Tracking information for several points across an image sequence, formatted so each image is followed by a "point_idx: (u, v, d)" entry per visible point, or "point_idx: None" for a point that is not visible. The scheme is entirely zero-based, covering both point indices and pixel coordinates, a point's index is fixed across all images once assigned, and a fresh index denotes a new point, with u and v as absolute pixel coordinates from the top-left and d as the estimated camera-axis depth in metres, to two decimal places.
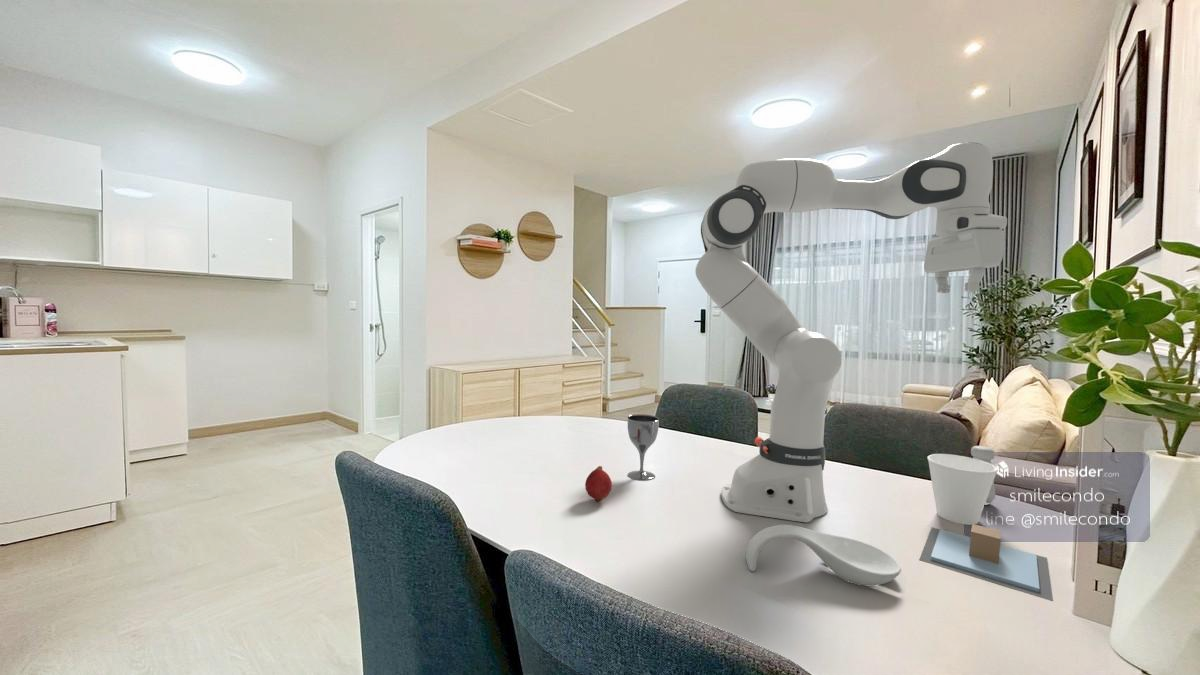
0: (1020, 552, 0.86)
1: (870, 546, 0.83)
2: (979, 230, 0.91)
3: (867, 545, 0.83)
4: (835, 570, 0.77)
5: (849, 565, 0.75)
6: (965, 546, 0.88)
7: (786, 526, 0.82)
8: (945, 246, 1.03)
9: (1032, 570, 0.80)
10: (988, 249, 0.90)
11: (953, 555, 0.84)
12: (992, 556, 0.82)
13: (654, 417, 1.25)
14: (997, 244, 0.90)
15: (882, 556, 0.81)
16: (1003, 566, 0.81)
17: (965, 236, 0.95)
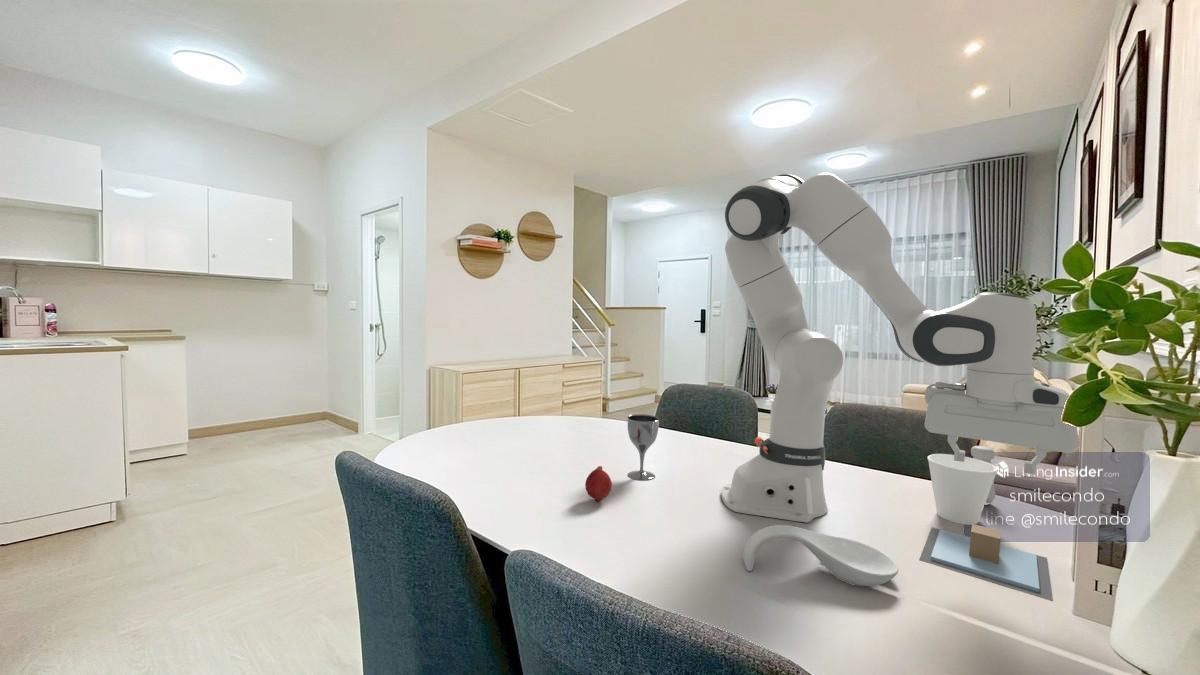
0: (1020, 552, 0.86)
1: (868, 547, 0.83)
2: None
3: (865, 546, 0.83)
4: (832, 570, 0.77)
5: (846, 565, 0.74)
6: (965, 546, 0.88)
7: (783, 526, 0.82)
8: (978, 409, 0.83)
9: (1032, 570, 0.80)
10: None
11: (953, 555, 0.84)
12: (992, 556, 0.82)
13: (654, 417, 1.25)
14: None
15: (880, 557, 0.81)
16: (1003, 566, 0.81)
17: (1040, 412, 0.77)
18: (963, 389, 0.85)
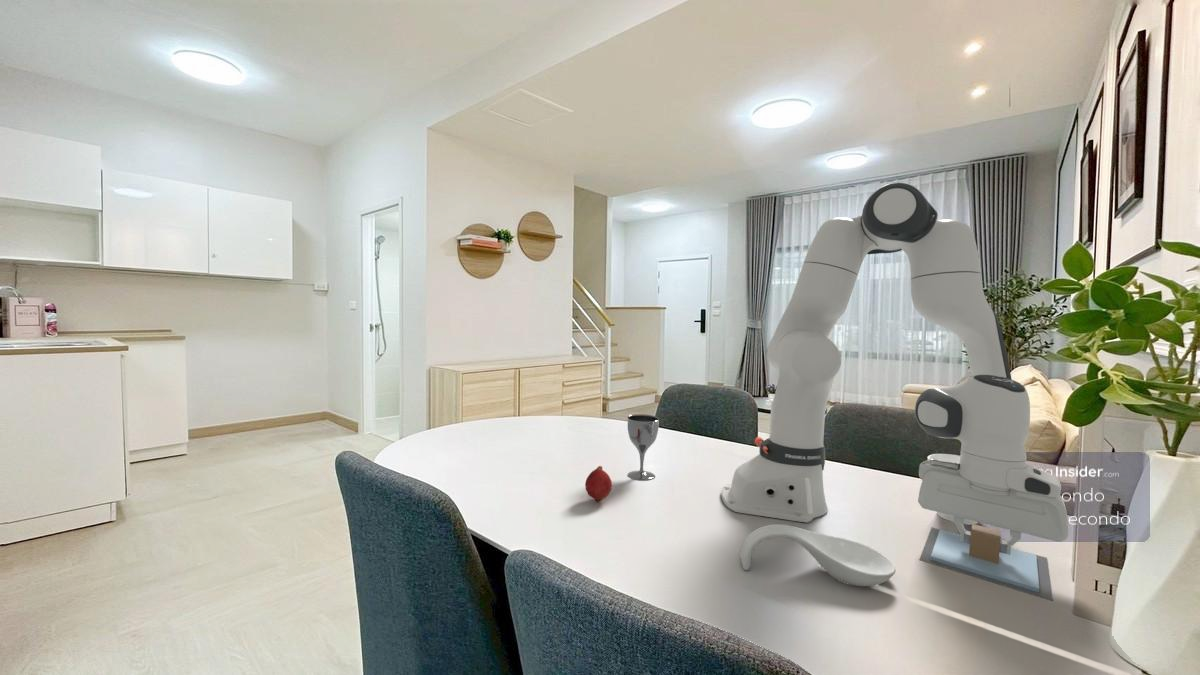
0: (1020, 552, 0.86)
1: (866, 547, 0.83)
2: (1060, 500, 0.77)
3: (863, 546, 0.83)
4: (829, 570, 0.77)
5: (842, 565, 0.75)
6: (965, 546, 0.88)
7: (780, 526, 0.82)
8: (971, 491, 0.84)
9: (1032, 570, 0.80)
10: None
11: (953, 555, 0.84)
12: (992, 556, 0.82)
13: (654, 417, 1.25)
14: None
15: (877, 558, 0.80)
16: (1003, 566, 0.81)
17: (1032, 500, 0.78)
18: (957, 469, 0.86)
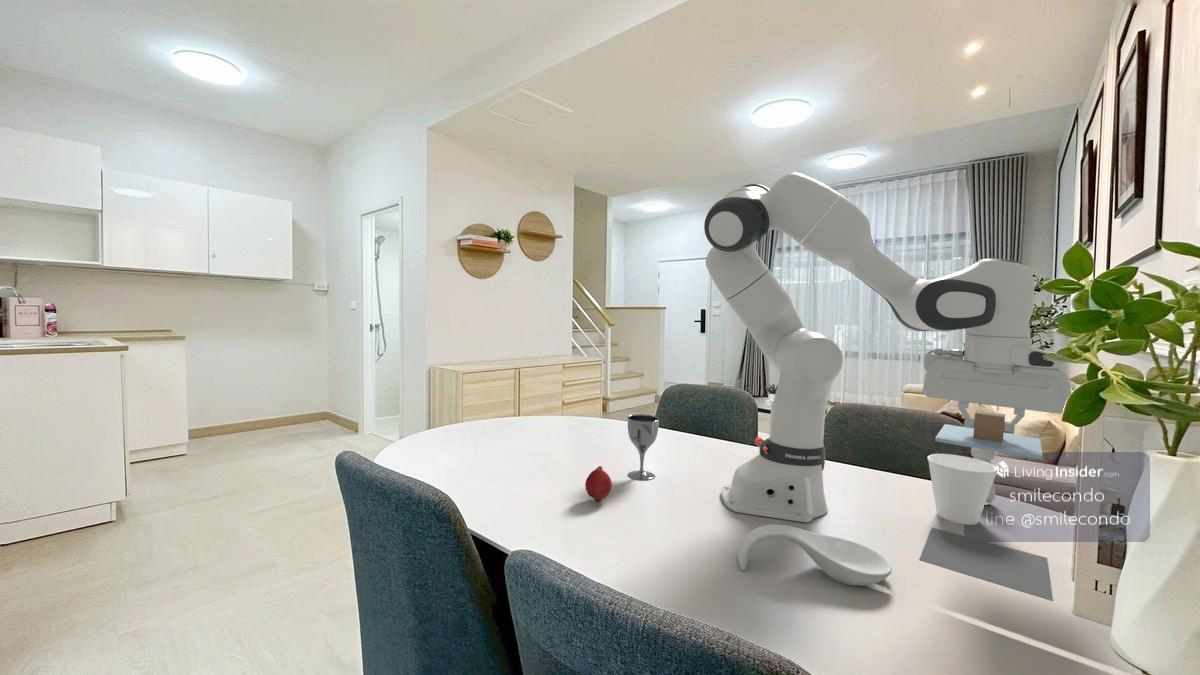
0: (1024, 437, 0.87)
1: (862, 546, 0.83)
2: (1064, 372, 0.77)
3: (859, 545, 0.83)
4: (826, 570, 0.77)
5: (839, 565, 0.75)
6: (969, 433, 0.89)
7: (777, 526, 0.82)
8: (975, 374, 0.85)
9: (1036, 446, 0.81)
10: None
11: (957, 437, 0.85)
12: (996, 436, 0.83)
13: (654, 417, 1.25)
14: None
15: (874, 557, 0.81)
16: (1006, 444, 0.82)
17: (1036, 374, 0.79)
18: (961, 355, 0.87)
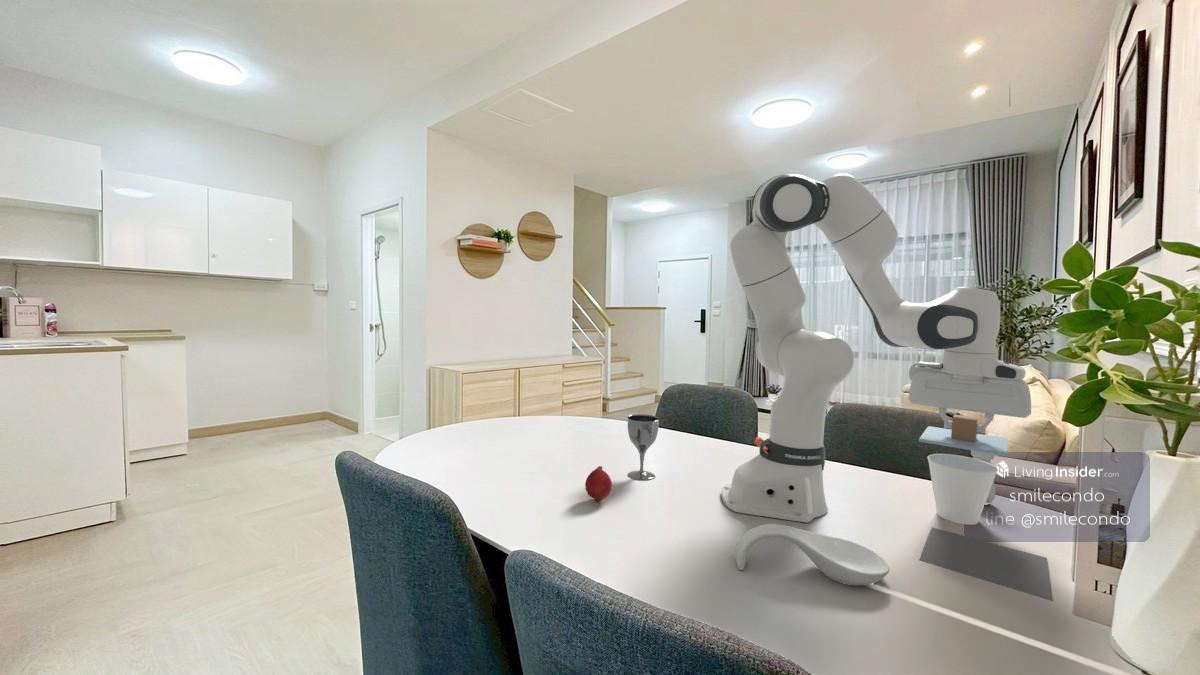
0: (994, 437, 1.02)
1: (860, 546, 0.83)
2: (1024, 383, 0.93)
3: (857, 545, 0.83)
4: (823, 569, 0.77)
5: (836, 564, 0.75)
6: (948, 434, 1.04)
7: (775, 525, 0.82)
8: (952, 384, 1.00)
9: (1003, 445, 0.96)
10: None
11: (938, 438, 1.00)
12: (970, 436, 0.98)
13: (654, 417, 1.25)
14: None
15: (871, 557, 0.81)
16: (979, 443, 0.97)
17: (1002, 384, 0.94)
18: (940, 368, 1.02)
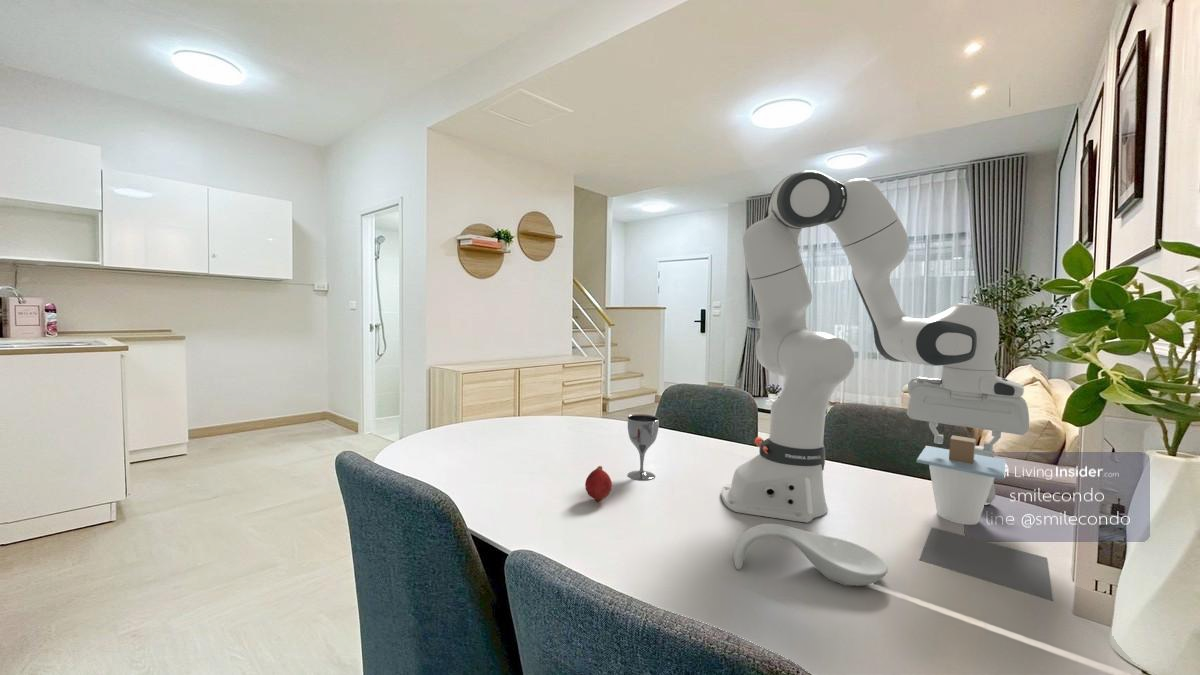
0: (992, 458, 1.02)
1: (859, 547, 0.83)
2: (1022, 400, 0.93)
3: (856, 546, 0.83)
4: (821, 569, 0.77)
5: (834, 564, 0.75)
6: (946, 454, 1.04)
7: (773, 525, 0.82)
8: (951, 400, 1.00)
9: (1000, 467, 0.96)
10: None
11: (935, 459, 1.01)
12: (967, 458, 0.99)
13: (654, 417, 1.25)
14: None
15: (870, 557, 0.80)
16: (976, 465, 0.97)
17: (1000, 401, 0.95)
18: (939, 383, 1.02)
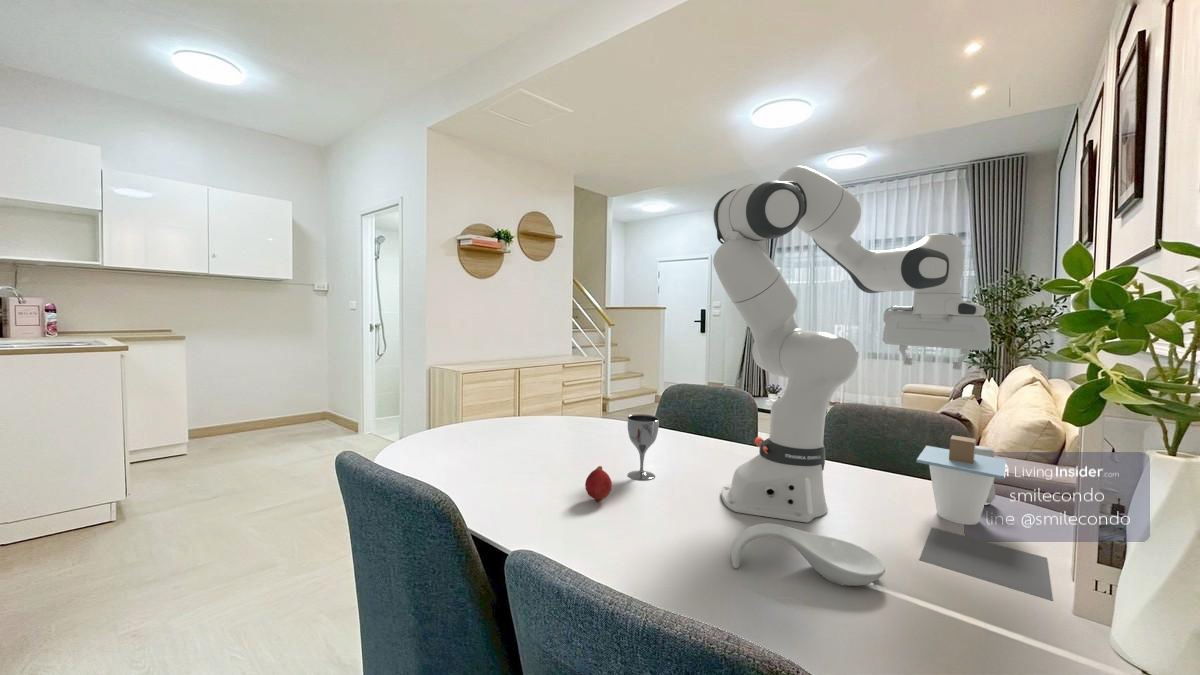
0: (992, 458, 1.02)
1: (857, 547, 0.83)
2: (983, 318, 1.02)
3: (854, 546, 0.83)
4: (818, 569, 0.77)
5: (830, 564, 0.75)
6: (946, 454, 1.04)
7: (771, 525, 0.82)
8: (921, 323, 1.10)
9: (1000, 467, 0.96)
10: (989, 336, 1.03)
11: (935, 459, 1.01)
12: (967, 458, 0.99)
13: (654, 417, 1.25)
14: (989, 331, 1.04)
15: (868, 557, 0.80)
16: (976, 465, 0.97)
17: (964, 321, 1.04)
18: (911, 310, 1.12)
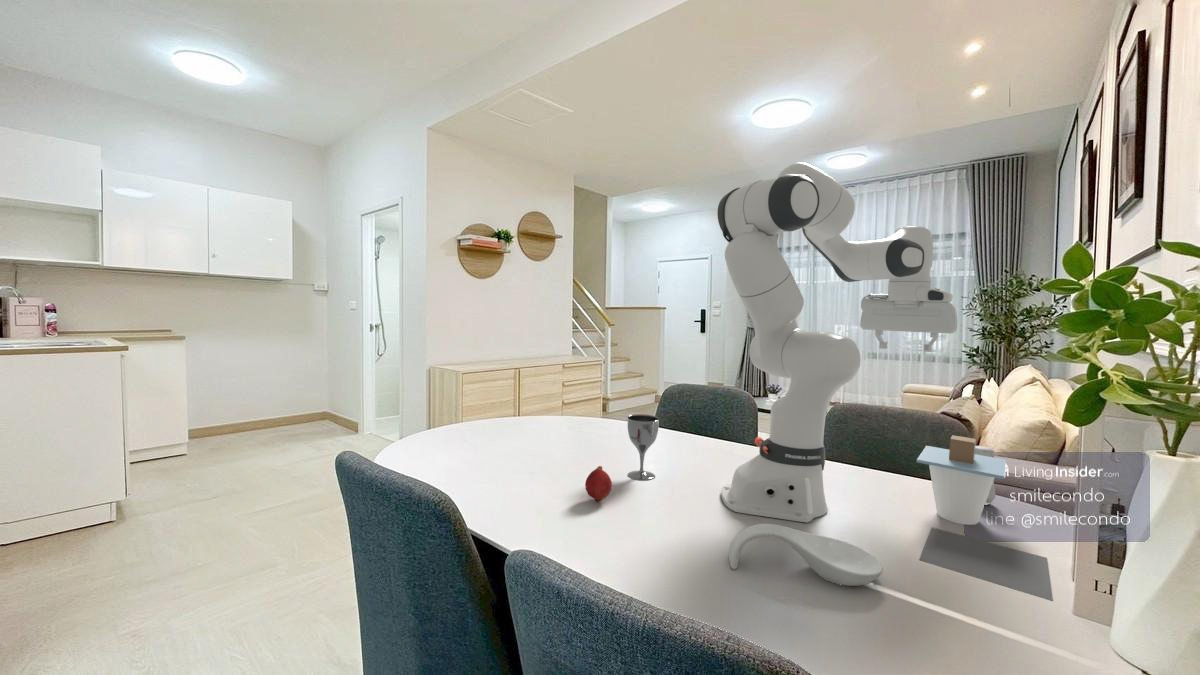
0: (992, 458, 1.02)
1: (855, 547, 0.83)
2: (950, 304, 1.12)
3: (852, 546, 0.83)
4: (816, 570, 0.77)
5: (829, 564, 0.75)
6: (946, 454, 1.04)
7: (769, 525, 0.82)
8: (894, 310, 1.19)
9: (1000, 467, 0.96)
10: (956, 320, 1.12)
11: (935, 459, 1.01)
12: (968, 458, 0.99)
13: (654, 417, 1.25)
14: (956, 316, 1.13)
15: (866, 557, 0.80)
16: (976, 465, 0.97)
17: (933, 306, 1.13)
18: (886, 297, 1.21)
